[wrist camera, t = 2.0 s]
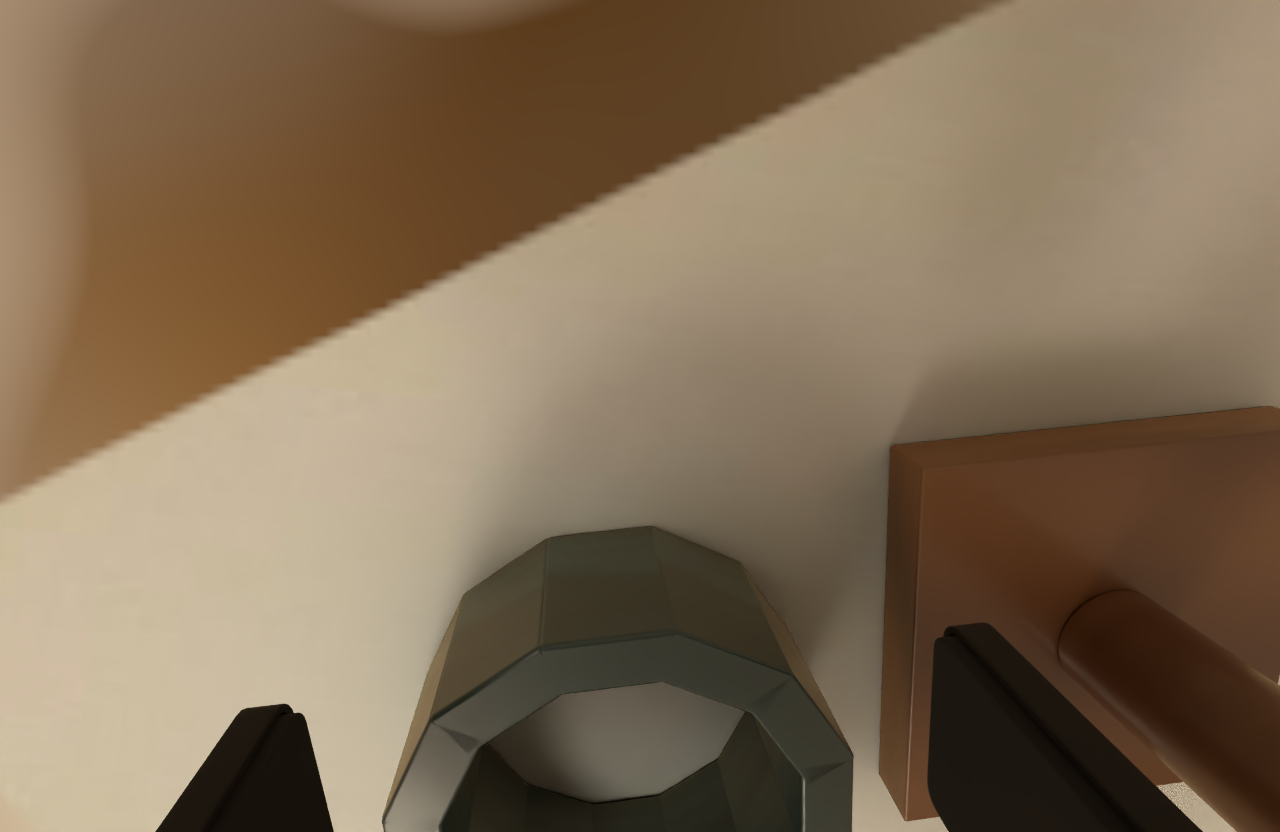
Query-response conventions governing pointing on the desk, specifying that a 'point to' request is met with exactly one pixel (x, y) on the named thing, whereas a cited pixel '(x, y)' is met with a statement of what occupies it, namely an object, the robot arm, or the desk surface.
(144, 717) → the desk surface
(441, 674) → the ring
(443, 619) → the desk surface
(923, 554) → the stand
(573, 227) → the desk surface
